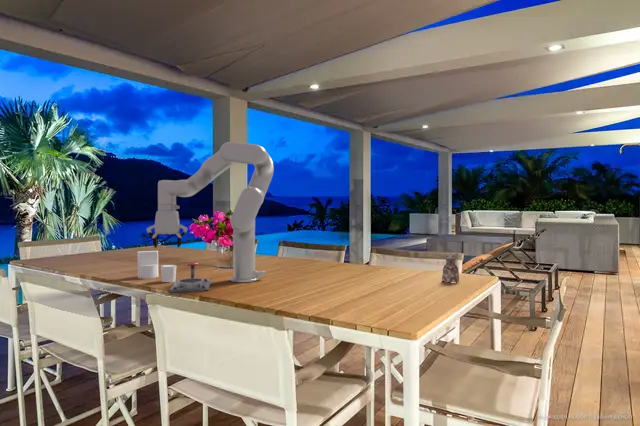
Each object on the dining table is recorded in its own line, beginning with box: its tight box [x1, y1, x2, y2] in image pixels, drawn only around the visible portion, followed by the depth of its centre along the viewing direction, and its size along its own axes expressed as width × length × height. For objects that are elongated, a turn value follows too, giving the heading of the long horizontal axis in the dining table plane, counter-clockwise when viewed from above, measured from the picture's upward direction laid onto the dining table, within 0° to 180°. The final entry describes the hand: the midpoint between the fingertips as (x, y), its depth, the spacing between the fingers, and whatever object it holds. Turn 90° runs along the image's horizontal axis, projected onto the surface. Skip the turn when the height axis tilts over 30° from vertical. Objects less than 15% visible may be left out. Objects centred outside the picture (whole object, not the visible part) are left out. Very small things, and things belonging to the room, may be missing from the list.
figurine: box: [441, 253, 460, 283], centre depth 194 cm, size 7×7×12 cm
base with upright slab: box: [136, 250, 159, 280], centre depth 208 cm, size 9×9×12 cm
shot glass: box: [160, 264, 178, 283], centre depth 197 cm, size 7×7×7 cm
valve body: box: [168, 262, 212, 293], centre depth 186 cm, size 15×19×9 cm
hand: (167, 247), depth 197 cm, fingers open, 9 cm apart
